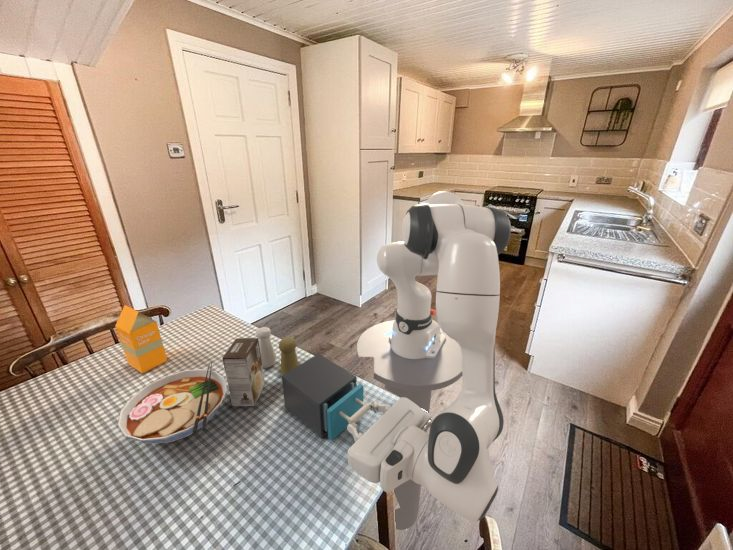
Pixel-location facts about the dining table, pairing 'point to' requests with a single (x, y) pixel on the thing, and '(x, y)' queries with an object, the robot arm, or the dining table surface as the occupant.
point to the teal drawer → (343, 409)
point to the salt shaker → (266, 347)
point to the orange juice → (140, 340)
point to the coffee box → (244, 371)
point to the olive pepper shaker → (288, 355)
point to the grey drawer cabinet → (313, 389)
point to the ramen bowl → (173, 406)
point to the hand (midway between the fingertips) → (360, 414)
